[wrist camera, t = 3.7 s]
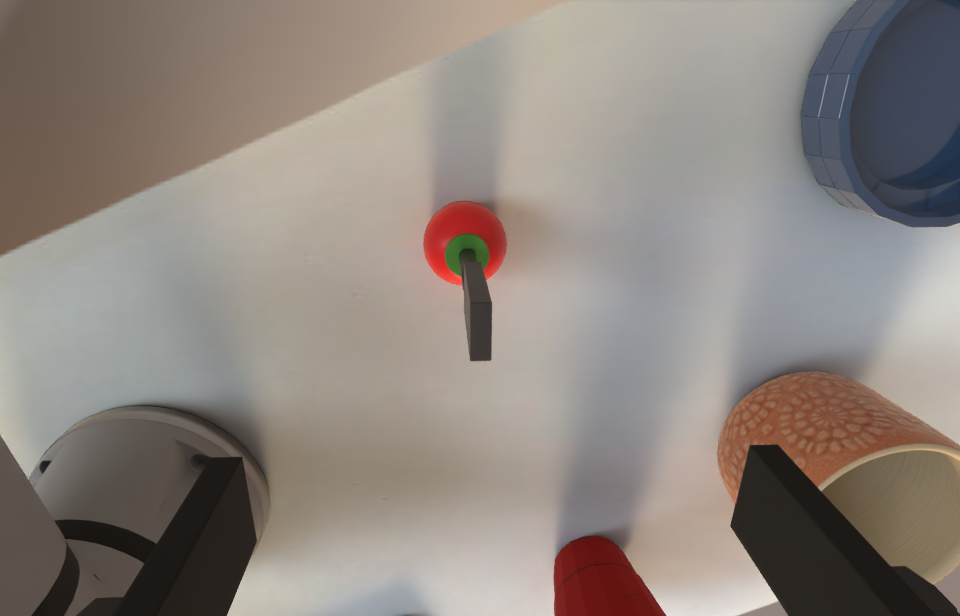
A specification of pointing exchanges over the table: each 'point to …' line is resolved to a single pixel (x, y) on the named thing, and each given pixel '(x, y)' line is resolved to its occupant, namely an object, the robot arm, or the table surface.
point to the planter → (858, 463)
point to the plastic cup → (599, 582)
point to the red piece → (468, 263)
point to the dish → (889, 111)
